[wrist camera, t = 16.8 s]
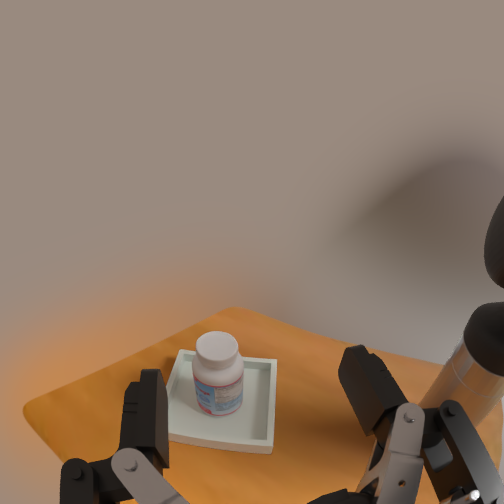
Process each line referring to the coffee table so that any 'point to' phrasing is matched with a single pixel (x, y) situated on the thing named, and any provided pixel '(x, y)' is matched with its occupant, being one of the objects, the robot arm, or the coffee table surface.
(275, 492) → the coffee table surface
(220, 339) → the pill bottle
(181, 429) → the tray
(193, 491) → the coffee table surface
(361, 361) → the robot arm
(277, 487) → the coffee table surface
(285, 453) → the coffee table surface
